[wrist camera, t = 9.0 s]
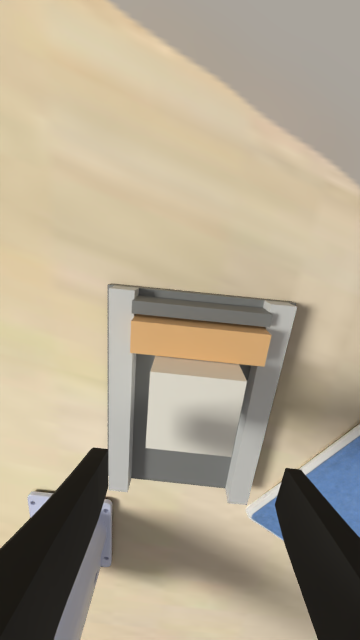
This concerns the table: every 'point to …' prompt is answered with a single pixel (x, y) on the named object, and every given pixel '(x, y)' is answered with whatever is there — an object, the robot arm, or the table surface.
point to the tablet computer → (323, 484)
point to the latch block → (199, 340)
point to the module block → (194, 405)
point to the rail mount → (134, 378)
